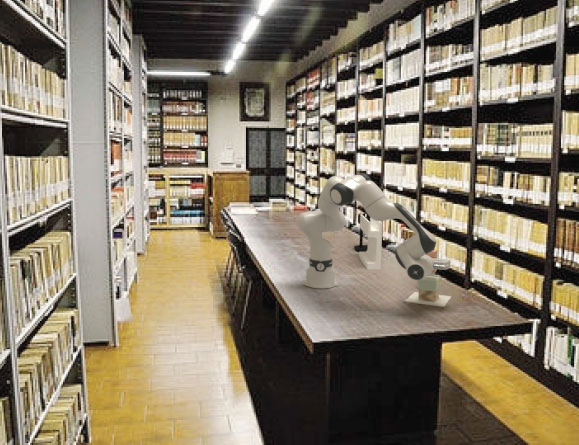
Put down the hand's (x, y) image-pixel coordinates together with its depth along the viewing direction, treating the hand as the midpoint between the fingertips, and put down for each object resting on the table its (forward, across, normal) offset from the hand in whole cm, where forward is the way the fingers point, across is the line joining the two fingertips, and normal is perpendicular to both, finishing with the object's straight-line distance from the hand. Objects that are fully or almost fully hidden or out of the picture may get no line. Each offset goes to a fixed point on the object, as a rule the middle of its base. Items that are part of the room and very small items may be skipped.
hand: (430, 259), depth 263 cm
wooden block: (-1, 0, +19) cm, 19 cm away
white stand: (+63, +51, +19) cm, 83 cm away
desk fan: (+101, +65, +19) cm, 122 cm away
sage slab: (-1, 0, +14) cm, 14 cm away
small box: (+20, +6, +20) cm, 29 cm away
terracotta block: (-1, 0, +6) cm, 6 cm away
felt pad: (-1, 0, +19) cm, 19 cm away
